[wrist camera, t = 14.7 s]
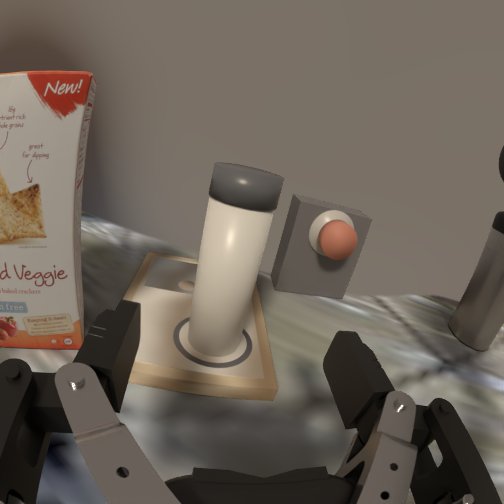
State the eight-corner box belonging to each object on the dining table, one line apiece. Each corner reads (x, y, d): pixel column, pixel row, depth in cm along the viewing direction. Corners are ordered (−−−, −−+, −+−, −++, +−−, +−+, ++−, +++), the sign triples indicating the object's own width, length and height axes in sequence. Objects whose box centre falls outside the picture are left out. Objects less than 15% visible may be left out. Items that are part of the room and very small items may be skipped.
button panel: (333, 285, 43) (359, 210, 38) (342, 300, 39) (373, 220, 34) (270, 275, 41) (293, 193, 37) (275, 291, 37) (301, 201, 33)
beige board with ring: (251, 279, 39) (254, 268, 38) (272, 400, 20) (279, 387, 20) (147, 261, 36) (148, 249, 36) (95, 373, 18) (92, 358, 18)
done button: (345, 256, 35) (356, 223, 33) (350, 262, 33) (362, 228, 32) (313, 250, 34) (324, 215, 32) (317, 256, 32) (329, 220, 31)
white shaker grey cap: (238, 326, 26) (277, 173, 21) (241, 360, 22) (290, 183, 17) (188, 318, 25) (215, 160, 20) (183, 353, 21) (213, 167, 16)
